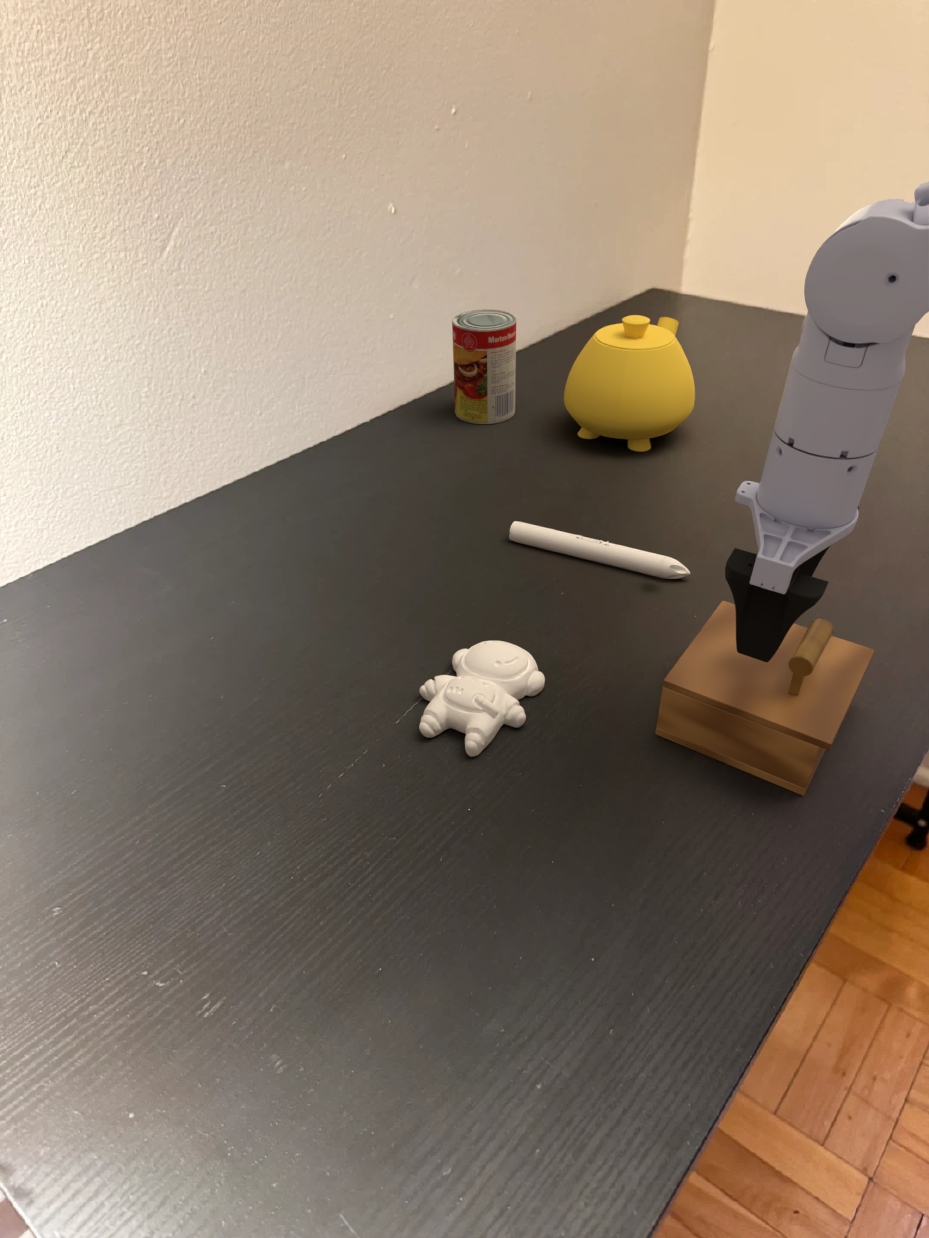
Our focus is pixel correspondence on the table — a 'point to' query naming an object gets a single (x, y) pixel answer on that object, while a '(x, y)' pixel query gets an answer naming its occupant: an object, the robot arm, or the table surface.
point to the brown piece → (775, 677)
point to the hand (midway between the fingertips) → (768, 622)
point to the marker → (597, 551)
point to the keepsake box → (738, 741)
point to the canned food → (484, 365)
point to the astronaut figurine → (481, 693)
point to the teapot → (631, 382)
